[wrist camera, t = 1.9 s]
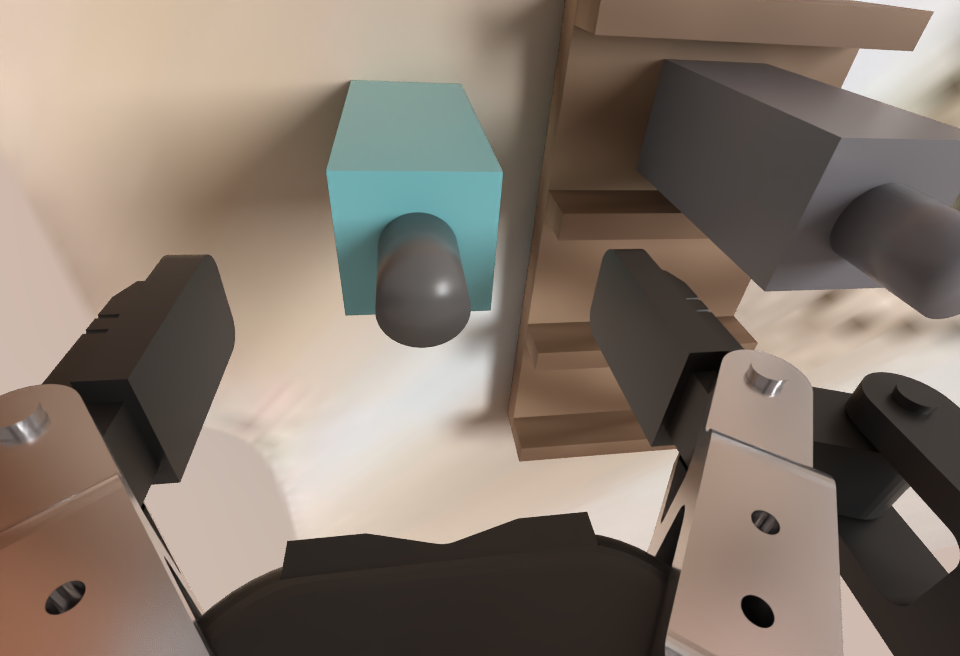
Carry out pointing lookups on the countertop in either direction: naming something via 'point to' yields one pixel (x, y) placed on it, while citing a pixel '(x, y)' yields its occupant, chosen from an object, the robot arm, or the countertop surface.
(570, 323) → the wooden slotted rack
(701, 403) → the robot arm
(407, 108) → the teal plug
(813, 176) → the charcoal plug
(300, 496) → the countertop surface
